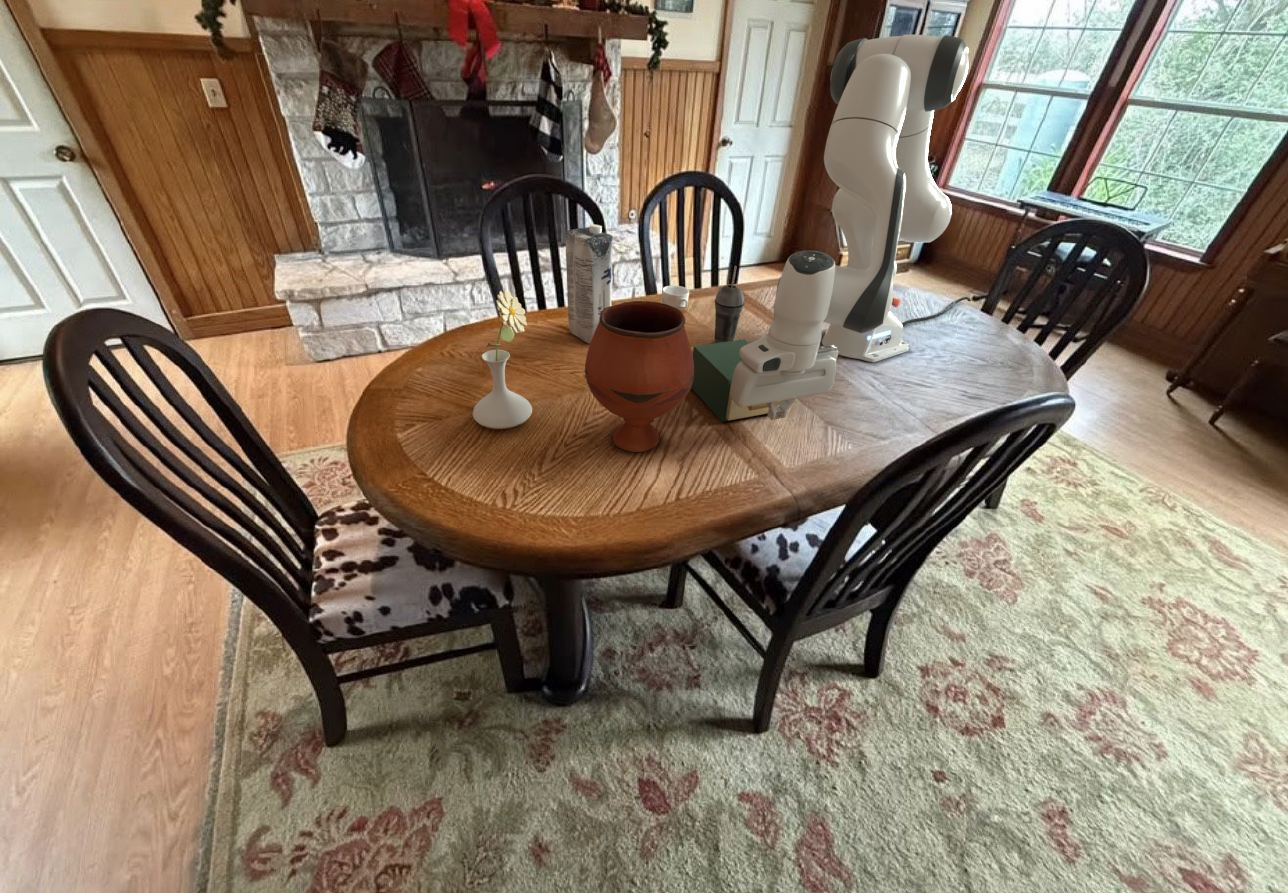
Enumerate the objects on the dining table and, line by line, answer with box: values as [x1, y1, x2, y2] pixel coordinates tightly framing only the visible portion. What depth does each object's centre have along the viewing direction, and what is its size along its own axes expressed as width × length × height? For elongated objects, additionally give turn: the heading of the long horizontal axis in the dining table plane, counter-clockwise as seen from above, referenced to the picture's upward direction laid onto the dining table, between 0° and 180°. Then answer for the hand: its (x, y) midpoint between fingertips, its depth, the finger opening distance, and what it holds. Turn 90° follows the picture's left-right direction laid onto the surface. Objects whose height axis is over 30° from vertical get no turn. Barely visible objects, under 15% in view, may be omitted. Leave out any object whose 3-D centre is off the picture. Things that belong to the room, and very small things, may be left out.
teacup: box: [661, 285, 690, 311], centre depth 157 cm, size 10×8×5 cm
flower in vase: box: [472, 290, 533, 430], centre depth 102 cm, size 13×11×25 cm
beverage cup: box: [714, 265, 745, 343], centre depth 134 cm, size 7×7×20 cm
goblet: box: [584, 300, 694, 453], centre depth 98 cm, size 19×19×25 cm
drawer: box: [726, 393, 783, 422], centre depth 113 cm, size 18×11×8 cm, turn 22°
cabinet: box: [691, 338, 750, 423], centre depth 116 cm, size 16×13×10 cm
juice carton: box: [564, 224, 614, 345], centre depth 134 cm, size 9×10×27 cm
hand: (776, 417), depth 103 cm, fingers closed
